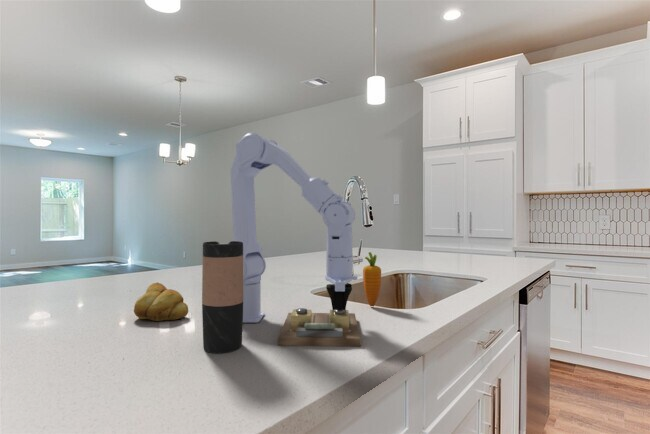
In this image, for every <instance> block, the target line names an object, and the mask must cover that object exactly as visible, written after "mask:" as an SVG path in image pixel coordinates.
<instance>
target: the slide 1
mask: <svg viewBox="0 0 650 434" xmlns="http://www.w3.org/2000/svg"><path fill="white" fill-rule="evenodd" d="M312 311H313V310H312V309H307V308H305V307H304V308H301V307H299V308H295V309H293V310H292V311H291V313H292V314H291V330H297V328H304V325H305V324H306V323H312V313H313V312H312Z"/></svg>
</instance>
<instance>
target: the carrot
mask: <svg viewBox="0 0 650 434" xmlns="http://www.w3.org/2000/svg"><path fill="white" fill-rule="evenodd" d="M368 256H369V257H368ZM368 256H364V259H365V260H367V261H368V263H369V265H365V266H364V267H363V269H362V277H363V278H362V282H363V289H364V295H365V299H366V301H367V303H368V304H369V305H368V306H370V307H371V306H373V307H374V306H375V305H376V303H377V301H378V298H379V295H380V291H381V286H382V285H381V284H382V268H381V267H380V266H378V265H376V262H377V255H376V254H374V255H373V254H372V252H371V251H369V252H368Z"/></svg>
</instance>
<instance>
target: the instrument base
mask: <svg viewBox="0 0 650 434" xmlns="http://www.w3.org/2000/svg"><path fill="white" fill-rule="evenodd" d="M291 314H292V312H288V313H287V316H286V318H285V321H284V323H283V326H282V327H281V329H280V333H279V334H278V337H277V345H278V346H296V347H297V346H301V347H302V346H303V347H304V346H308V347H312V346H314V347H317V346H319V347H361V345H362V344H361V341H362V339H361V334H360V331H359V326H358V322H357V319H356V318H357V317H356V313H350V312H349V331H342V328H335V324H333V323H330V312H312V323H306V324H305V325H304V328H297V330H291Z"/></svg>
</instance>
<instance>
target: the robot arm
mask: <svg viewBox="0 0 650 434" xmlns="http://www.w3.org/2000/svg"><path fill="white" fill-rule="evenodd" d="M235 151H236V152H235V156H234V159H233V161H232V164H231V167H230V185H231V210H232V233H233V241H239V242H243V323H252V324H253V323H255V324H256V323H259V322H261V320H262V318H263V317H264V316H265V311H261V309H262V308H261V301H262V300H261V299H262V298H261V296H262V295H261V293H262V292H261V291H262V290H261V287H262V286H261V284H262V283H261V281H262V275H263V274H264V273H265V271H266V267H267V264H266V260H265V258H264V255H263V251H262V250H263V249H262V247H261V245H260V244H259V242H258V239H257V219H256V198H255V197H256V195H255V177H256V176H257V175H258V174H259V173H261V171H263V170H264V169H266V168H269V167H271V166H272V165H274V166H277V167H278V168H279V169H280V170H281V171H283V172H284V173H285V174H286V175H287V176H288V177H289V178H290V179H291V180H293V181H294V183H296V184H297V185H298V186H299V187H300V188H301V189H300V190H301V196H302V197H303V198H304V199H305V200H306V201H307V203H308V204H310V205H311V206H312V208H313V209H315V211H316V212H317V213H319V214H320V215H321V216H322V220H323V223H324V224H325V225H326V257H325V259H326V262H325V264H326V265H325V267H326V275H325V278H324V280H325V281H327V282H329V283H328V284H326V286H325V287H326V291H327V293H328V296H329V299H330V302H331V308H332V309H331V310H334V309H344V310H347V303H348V300H349V297H350V295H351V293H352V291H353V287H352V283H350V282H352V281H357V280H358V275H354V274H353V223H354V221H355V219H356V211H355V208H353V206H352V204H351V203H350V202H348V201H343V198H344V197H343V196H342V195H341V194H338V193H336V192H335V191H334V190H333V189H332V188H330V186H329V182H328V180H326V179H325V178H324V179H322V178H320V177H312V176H311V175H310V174H309V173H308V172H307V171H306V170H305V169H304V168H303V167H302V166H301V164H299V163H298V162H297V160H296V159H295V158H294V157H292V155H291V154H290V153H289V152H288V151H287V149H285V148H284V147H282V146H281V145H280V144H278V143H277V141H276V140H272V139H269V138H266V137H263V136H261V135H259V133H255V132H248V133H246V134H245V135H243V136H242V137H241V138H240V139H239V140H238V142H236V143H235Z"/></svg>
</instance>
